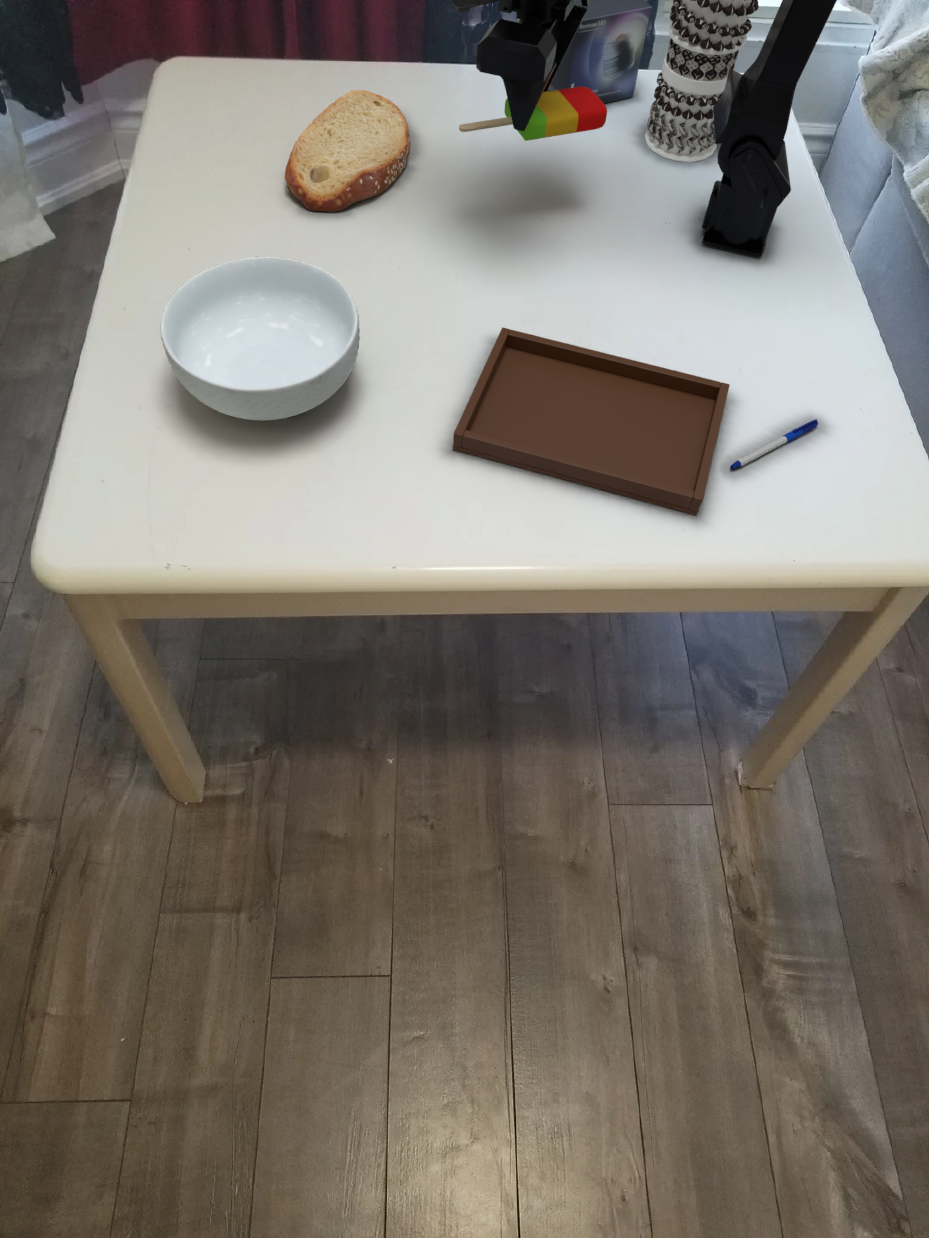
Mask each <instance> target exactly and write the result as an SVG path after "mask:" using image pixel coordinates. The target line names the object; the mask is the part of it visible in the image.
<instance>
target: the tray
mask: <svg viewBox="0 0 929 1238" xmlns="http://www.w3.org/2000/svg"><path fill="white" fill-rule="evenodd" d="M729 390H730V383H726V382H721V381H718V380H714V379H711V378H706V377H702V376H698V375H696V374H695V375H694V374H689V373H687V372H682V371H678V370H674V369H670V368H667V367H663V366H658V365H654V364H650V363H646V362H643V361H638V360H634V359H631V358H626V357H622V356H618V355H615V354H610V353H606V352H603V351H597V350H595V349H590V348H586V347H582V346H579V345H574V344H570V343H566V342H562V341H559V340H554V339H550V338H546V337H543V336H539V335H534V334H530V333H527V332H523V331H519V330H514V329H510V328H507V327H502V328H500V331H499V334H498V336H497V338H496V340H495V342H494V344H493V347H492V349H491V351H490V353H489V355H488V357H487V360H486V362H485V364H484V366H483V368H482V370H481V373H480V375H479V377H478V379H477V382H476V383H475V386H474V388H473V390H472V392H471V395H470V396H469V399H468V401H467V403H466V406H465V407H464V410H463V412H462V414H461V417H460V419H459V421H458V422H457V425H456V428H455V429H454V431H453V439H452V450H454V451H457V452H462V453H465V454H468V455H473V456H475V457H480V458H483V459H486V460H490V461H494V462H498V463H500V464H505V465H508V466H513V467H516V468H519V469H522V470H523V469H524V470H527V471H531V472H535V473H539V474H542V475H546V476H550V477H553V478H557V479H559V480H560V479H561V480H563V481H564V480H565V481H568V482H572V483H576V484H579V485H583V486H586V487H590V488H594V489H597V490H600V491H605V492H608V493H612V494H616V495H620V496H624V497H627V498H631V499H634V500H638V501H641V502H645V503H649V504H652V505H656V506H660V507H664V508H668V509H671V510H675V511H679V512H682V513H686V514H689V515H693V516H697V515H698V513H699V510H700V508H701V505H702V503H703V501H704V497H705V492H706V488H707V483H708V480H709V476H710V472H711V471H710V470H711V468H712V467H711V466H712V462H713V458H714V454H715V449H716V445H717V440H718V437H719V436H718V435H719V432H720V428H721V423H722V418H723V415H724V410H725V407H726V403H727V398H728V394H729Z"/></svg>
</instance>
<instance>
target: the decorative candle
mask: <svg viewBox="0 0 929 1238" xmlns="http://www.w3.org/2000/svg"><path fill="white" fill-rule="evenodd" d="M759 8H760V5H759V0H672V5H671V8H670V14H669V20H670V23H669V24H668V28H667V30H668V36H669V42H668V46H667V53H666V55H665V56H664V58H663V62H662V67H661V71H660V72H659V73H658V74H657V77H656V84H657V86H656V87H655V89H654V92H653V98H654V99H655V100H654V101H652V103H651V105H650V109H649V117H648V119H647V123H646V128H647V130H646V132H645V134H644V138H645V144H646V146H648V148H649V149H650V150H651V151H652V152H654V153H655V154H657V155H659V156H660V157H662V158H665V159H668V160H672V161H675V162H685V163H692V162H699V161H703V160H705V159H707V158H709V157H711V156H712V155H713V154H714V152H715V150H717V144H715V135H714V116H713V106H714V105H715V104H716V103H717V102H718V101H719V99H720V98H721V96H722V94H723V92H724V89H725V85H726V81H727V77H728V74H729V71H730V70H734V71H736V66H735V65H736V62H737V60H738V56H739V52H740V50H741V49H743V47H744V46H745V44H746V43H747V40H748V35H747V34H748V33H749V32H750V31H751V30H752V27H753V25H752V22H751V20H750V19H749V18H748V16H751V15H753V14H754V13H755V12H757V11H758V10H759Z"/></svg>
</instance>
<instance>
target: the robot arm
mask: <svg viewBox="0 0 929 1238" xmlns="http://www.w3.org/2000/svg"><path fill="white" fill-rule="evenodd" d="M576 1H577V0H450V2H451V5H452V6H454V8H455V11H456V13H466V12H468V11H469V9H471V8H477V7H482V6H485V5H490V4H494V3H497V11H498V12H501V13H506V14H511V13H513V12H515V13H516V16H515V21H513V20H508V19H504V18H499V19H498V20H496V22H495V23H493V24H492V25H491V26H490V27H489V28H488V29H487V31H486V32H485V33H484V35H483V37H482V38H481V39H480V41H479V42H478V43H477V45H476V61H475V62H476V63H475V67H476V69H477V70H478V71H479V72H480V73H484V74H487V75H492V76H498V77H500V78H501V79H502V82H503V86H504V89H505V94H506V99H507V98H508V103H509V108H510V113H511V118H512V123H513V124H512V126H513V129H514V130H515V131H517V130H519V131H524V130H525V129H526V127H527V125H528V123H529V121H530V119H531V117H532V114H533V112H534V110H535V108H536V106H537V104H538V102H539V100H540V97H541V95H542V93H543V92H547V91H548V89H549V87H550V85H551V83H552V81H553V79H554V77H555V75H556V73H557V71H558V68H559V66H560V64H561V62H562V60H563V58H564V56H565V55H566V53H567V51H568V49H569V47H570V45H571V43H572V41H573V39H574V37H575V35H576V33H577V31H578V29H579V27H580V25H581V23H582V21H583V19H584V17H585V15H586V13H587V8H586V7H588V6H589V4H590V2H591V1H592V0H581V2H582V6H579V5H575V3H576ZM837 1H838V0H781V2H780V4H779V7H778V9H777V11H776V14H775V17H774V18H773V21H772V23H771V26H770V27H769V30H768V32H767V35H766V37H765V40H764V42H763V44H762V46H761V49H760V51H759V53H758V56H757V57H756V58H755V60H754V62H753V63H752V64H751V65H750V66H749V67H748V68H747V69H746V70H745V71H744V73H740V72H738V71H737V70H735V71H734V70H730V71H729V74H728V77H727V81H726V85H725V89H724V92H723V94H722V96H721V98H720V99H719V101H718V102H717V103H716V104H715V105H714V106H713V116H714V135H715V144H716V145H717V146H716V158H717V165H718V167H719V169H720V171H721V173H722V177H721V180H715V181H714V182H713V183H714V184H713V187H712V190H711V192H710V196H709V200H708V204H707V206H706V211H705V213H704V217H703V220H702V224H701V229H702V230H703V231H704V233H703V236H702V240H701V244H702V245H703V246H706V247H710V248H715V249H719V250H724V251H726V252H727V251H728V252H732V253H735V254H739V255H740V254H741V255H745V256H750V257H753V258H758V259H759V258H762V257H763V255H764V252H765V248H766V244H767V240H768V236H769V233H770V231H771V227H772V223H773V221H774V218H775V216H776V213H777V210H778V207H780V206H781V204H782V203H783V202H784V201H785V199H786V198H787V197H788V196H789V194H790V193H791V191H792V186H791V179H790V178H791V177H790V170H789V163H788V155H787V154H788V153H787V148H786V142H785V140H784V139H785V136H786V133H787V130H788V125H789V121H790V116H791V112H792V105H793V101H794V97H795V91H796V88H797V85H798V82H799V80H800V79H801V76H802V74H803V72H804V70H805V68H806V66H807V64H808V62H809V60H810V57H811V55H812V53H813V51H814V49H815V48H816V45H817V43H818V40H819V39H820V36H821V34H822V33H823V31H824V28H825V26H826V24H827V22H828V20H829V18H830V16H831V14H832V11H833V10H834V7H835V5H836V3H837ZM584 6H586V7H584Z"/></svg>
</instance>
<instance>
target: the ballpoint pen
mask: <svg viewBox="0 0 929 1238" xmlns="http://www.w3.org/2000/svg"><path fill="white" fill-rule="evenodd" d="M818 425H819V421H818V419H817V418H816V419H812V420H811V421H808V422H806V423H804V424H801V426H799V427H796V428H794V429H792V430H790V431H789V432H787V433H785V434H783V435H782V436H781V437H779V438H777V439H775V440H772V441H771V442H769V443H768V444H765V445H764V446H761V447H760V448H758V449H756V450H754V451H752V452H750V453H749V454H747V455H745V456H742V457H741V458H739V459H737V460H736V461H735V462H733V463H732V464H731V465H730V466H729V468H730V469H731V470H734V469H738V468H741V467H743V466H745V465H747V464H749V463H750V462H752V461H754V460H756V459H758V458H760V457H762V456H764V455H766V454H767V453H769V452H771V451H773V450H775V449H776V448H779V447H780V446H782V445H784V444H788V443H789V442H792V441H793V440H796V439H798V438H799V437H801V436H803V435H805V434H806V433H808V432H810V431H812V430H813V429H814V428H816V427H818Z"/></svg>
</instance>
